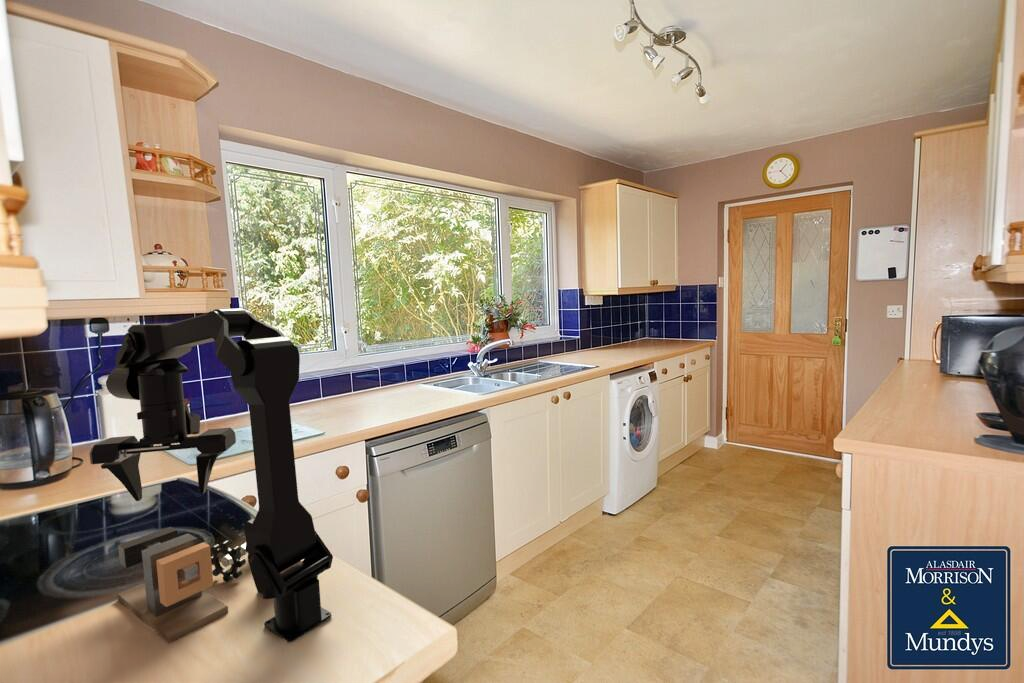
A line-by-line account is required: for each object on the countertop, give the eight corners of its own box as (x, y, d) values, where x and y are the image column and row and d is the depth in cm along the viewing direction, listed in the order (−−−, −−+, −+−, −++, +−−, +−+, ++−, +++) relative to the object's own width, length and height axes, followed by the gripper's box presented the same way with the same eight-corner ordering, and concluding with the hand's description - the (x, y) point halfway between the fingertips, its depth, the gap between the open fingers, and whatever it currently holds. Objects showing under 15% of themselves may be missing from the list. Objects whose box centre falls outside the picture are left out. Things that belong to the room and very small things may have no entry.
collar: (213, 585, 72) (210, 545, 71) (166, 607, 67) (162, 564, 66) (206, 581, 73) (203, 542, 72) (160, 602, 68) (156, 560, 67)
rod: (219, 571, 71) (217, 551, 71) (163, 596, 66) (161, 574, 65) (172, 544, 80) (170, 526, 80) (119, 563, 74) (117, 544, 74)
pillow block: (202, 595, 74) (197, 538, 73) (156, 617, 69) (150, 556, 68) (193, 589, 76) (188, 533, 75) (147, 610, 71) (141, 550, 70)
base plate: (228, 612, 72) (227, 605, 71) (168, 643, 65) (167, 636, 65) (174, 576, 82) (173, 570, 82) (118, 600, 75) (117, 593, 75)
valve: (261, 544, 92) (208, 580, 80) (258, 510, 91) (205, 541, 80) (292, 547, 91) (243, 584, 79) (289, 512, 90) (239, 544, 78)
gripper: (242, 389, 89) (248, 473, 90) (122, 397, 84) (131, 485, 86) (220, 400, 78) (228, 496, 79) (82, 410, 74) (93, 511, 75)
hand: (171, 496), depth 80 cm, fingers open, 9 cm apart
